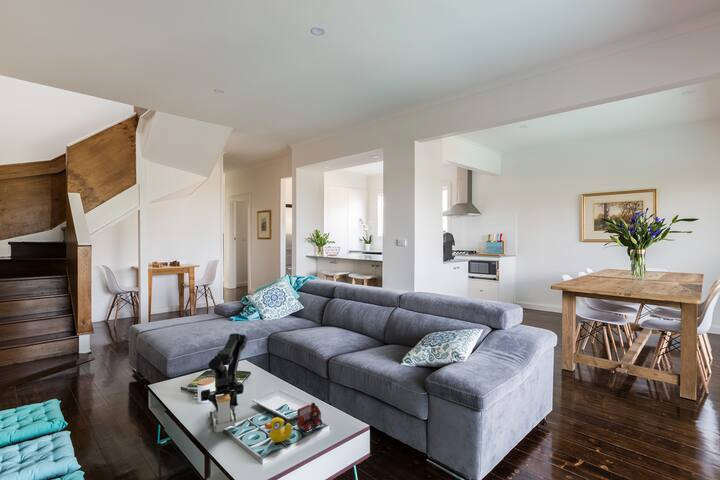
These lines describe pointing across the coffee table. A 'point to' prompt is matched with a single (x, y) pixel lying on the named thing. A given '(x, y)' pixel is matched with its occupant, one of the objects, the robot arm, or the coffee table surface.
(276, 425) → the duckling
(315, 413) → the toy fire truck
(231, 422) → the small digital clock
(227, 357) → the robot arm
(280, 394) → the tray
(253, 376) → the coffee table surface
